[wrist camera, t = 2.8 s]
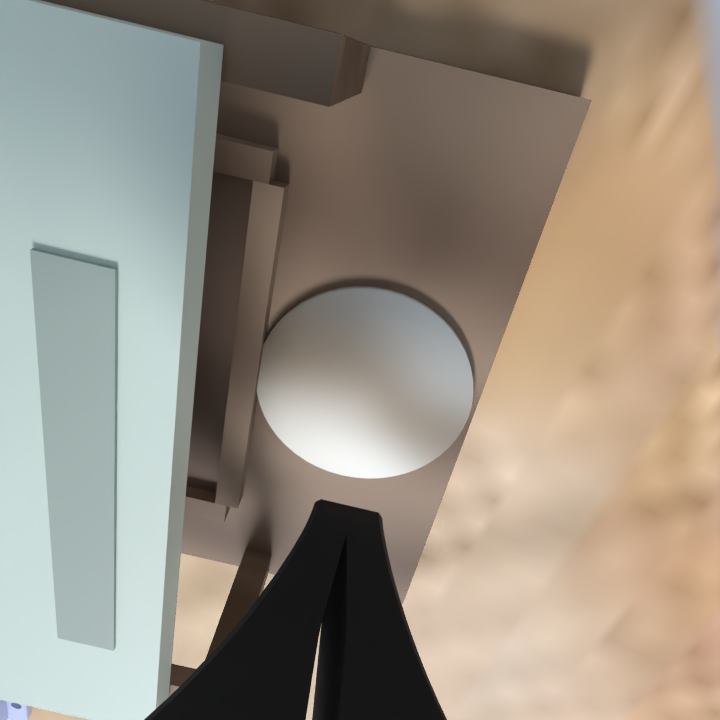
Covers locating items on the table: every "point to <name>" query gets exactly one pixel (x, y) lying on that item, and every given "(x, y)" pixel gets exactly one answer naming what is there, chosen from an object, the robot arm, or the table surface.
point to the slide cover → (97, 348)
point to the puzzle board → (348, 279)
